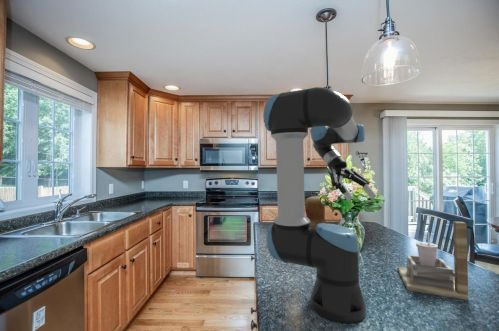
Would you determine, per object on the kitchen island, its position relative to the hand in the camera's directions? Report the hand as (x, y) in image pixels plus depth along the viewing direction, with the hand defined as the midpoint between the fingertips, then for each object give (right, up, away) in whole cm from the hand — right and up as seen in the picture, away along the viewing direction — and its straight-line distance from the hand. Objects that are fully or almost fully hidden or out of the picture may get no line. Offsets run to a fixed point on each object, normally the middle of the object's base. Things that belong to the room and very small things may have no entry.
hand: (362, 198), depth 97 cm
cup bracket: (+18, -29, -12) cm, 36 cm away
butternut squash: (-6, -30, +47) cm, 57 cm away
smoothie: (+18, -25, -11) cm, 32 cm away
